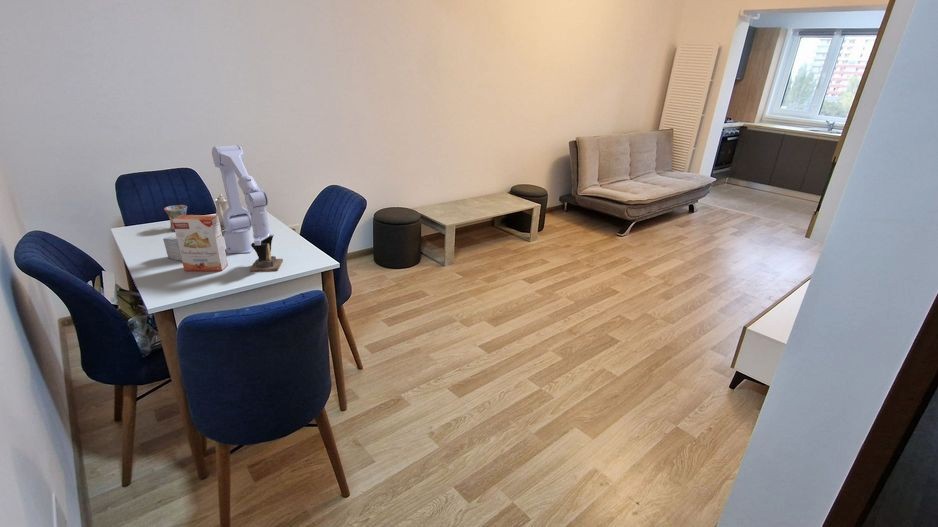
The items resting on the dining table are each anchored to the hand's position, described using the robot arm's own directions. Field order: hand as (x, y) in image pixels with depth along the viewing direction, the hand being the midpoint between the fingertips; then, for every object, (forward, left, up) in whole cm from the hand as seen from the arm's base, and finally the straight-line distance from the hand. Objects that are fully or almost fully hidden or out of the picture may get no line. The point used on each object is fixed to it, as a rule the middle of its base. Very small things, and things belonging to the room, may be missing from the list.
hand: (265, 256), depth 175 cm
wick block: (0, 0, -3) cm, 3 cm away
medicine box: (-36, +12, -4) cm, 38 cm away
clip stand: (0, 0, -4) cm, 4 cm away
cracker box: (-22, 0, -4) cm, 22 cm away
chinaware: (-28, +52, -5) cm, 59 cm away
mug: (-51, +51, -4) cm, 72 cm away
